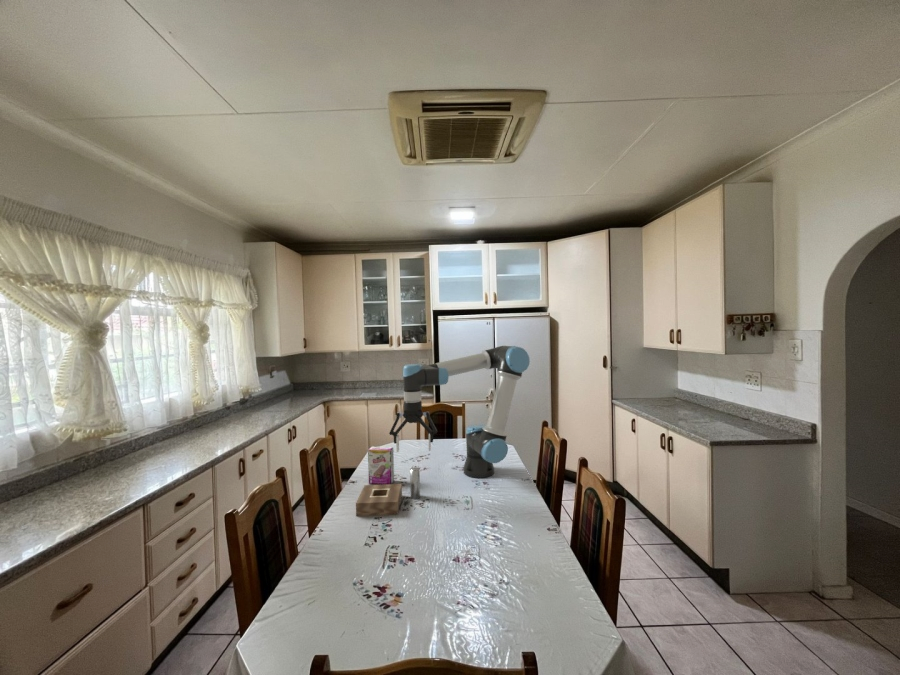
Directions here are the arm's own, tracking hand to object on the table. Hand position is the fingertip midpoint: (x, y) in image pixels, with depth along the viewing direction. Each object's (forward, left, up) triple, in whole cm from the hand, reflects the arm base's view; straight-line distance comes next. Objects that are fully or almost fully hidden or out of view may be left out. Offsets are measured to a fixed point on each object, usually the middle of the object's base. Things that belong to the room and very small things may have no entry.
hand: (413, 450), depth 151 cm
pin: (0, 0, -20) cm, 20 cm away
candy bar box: (+17, -16, -20) cm, 31 cm away
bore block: (+14, +6, -20) cm, 25 cm away
